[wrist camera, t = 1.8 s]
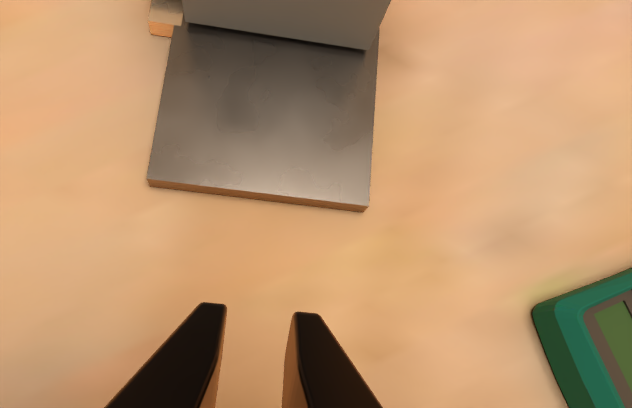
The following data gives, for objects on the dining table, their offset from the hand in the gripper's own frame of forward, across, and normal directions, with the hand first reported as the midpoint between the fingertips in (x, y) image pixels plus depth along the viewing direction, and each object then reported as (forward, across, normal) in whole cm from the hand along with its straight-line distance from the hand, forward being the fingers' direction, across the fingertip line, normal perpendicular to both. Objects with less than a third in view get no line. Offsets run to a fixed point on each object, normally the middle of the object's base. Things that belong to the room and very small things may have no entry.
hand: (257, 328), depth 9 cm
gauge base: (+22, +1, -3) cm, 22 cm away
